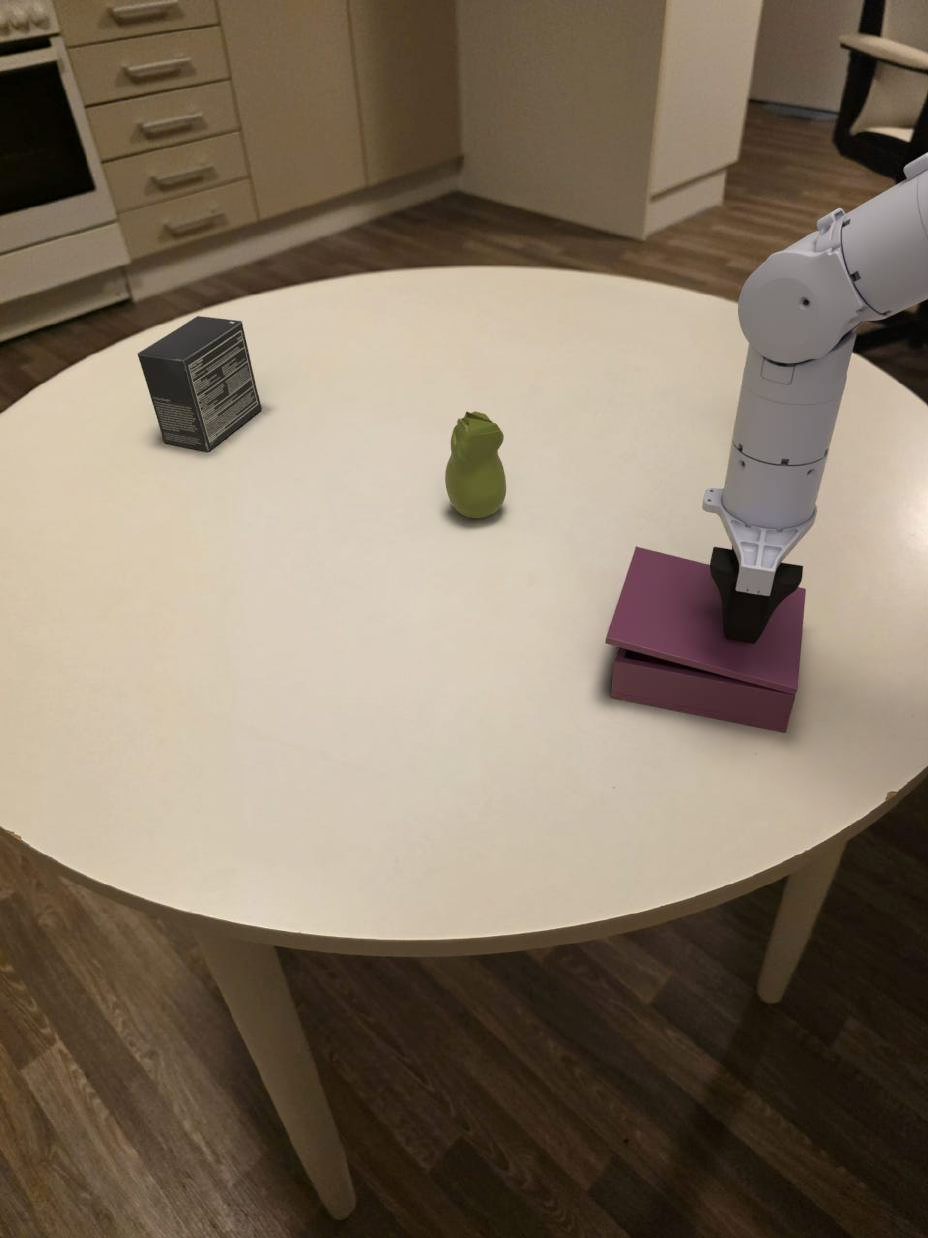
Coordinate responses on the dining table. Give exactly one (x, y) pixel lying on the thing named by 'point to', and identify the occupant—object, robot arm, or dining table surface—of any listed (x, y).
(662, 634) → the lid
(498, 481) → the green figurine
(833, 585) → the dining table surface
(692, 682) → the purple hinged box
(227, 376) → the small box
